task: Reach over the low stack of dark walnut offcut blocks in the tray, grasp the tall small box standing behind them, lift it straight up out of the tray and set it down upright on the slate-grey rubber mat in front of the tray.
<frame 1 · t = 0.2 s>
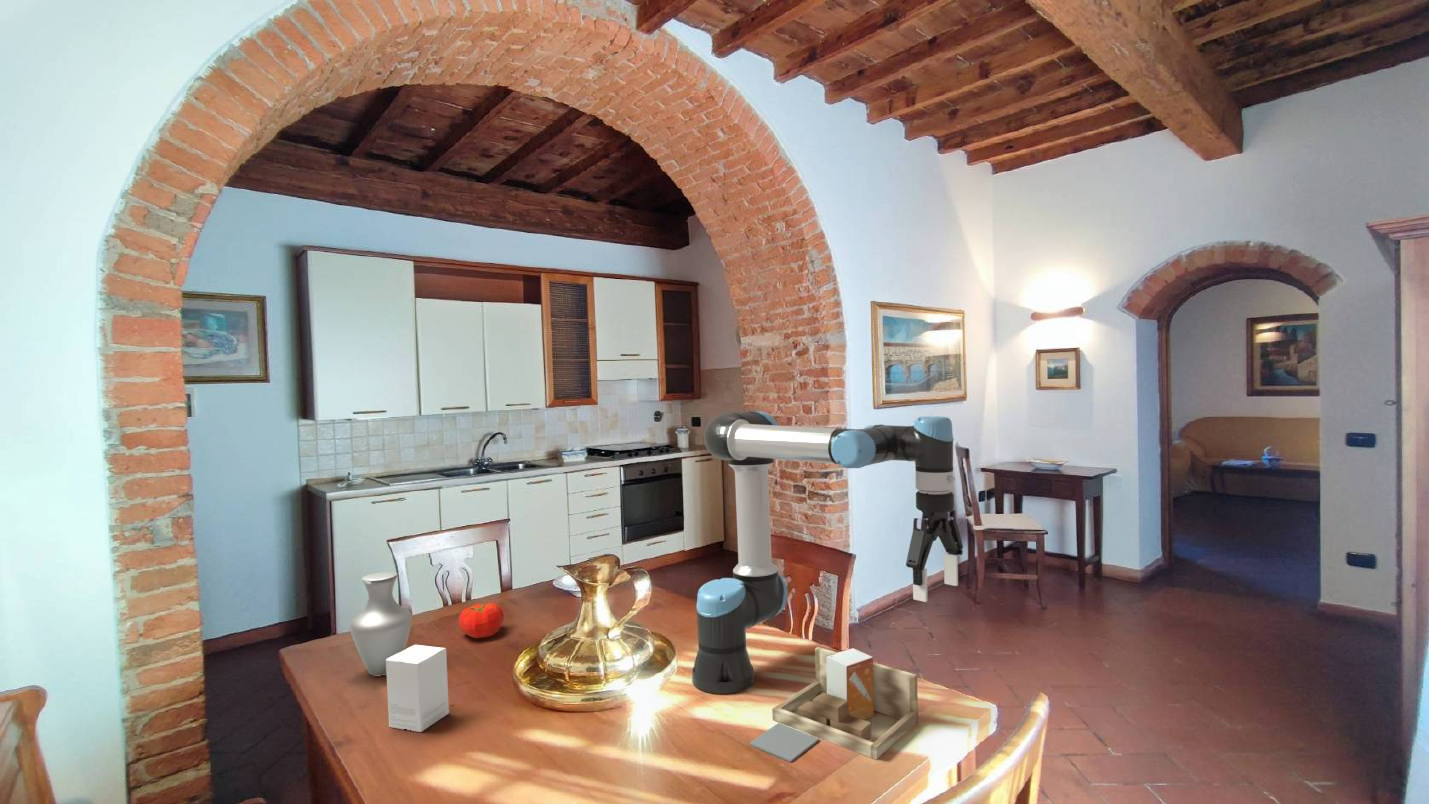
hand: (936, 592, 140), 27 cm above the table, fingers open, 13 cm apart
vase: (383, 672, 173), on the table
offcut b: (850, 738, 135), resting in tray, touching offcut c
tomato: (480, 636, 197), on the table
supplement box: (419, 721, 147), on the table
small box: (850, 717, 144), resting in tray
offcut c: (830, 714, 138), point 3 cm above the table, touching offcut b
offcut a: (817, 725, 141), resting in tray
tray: (844, 720, 142), on the table
mat: (784, 742, 134), on the table
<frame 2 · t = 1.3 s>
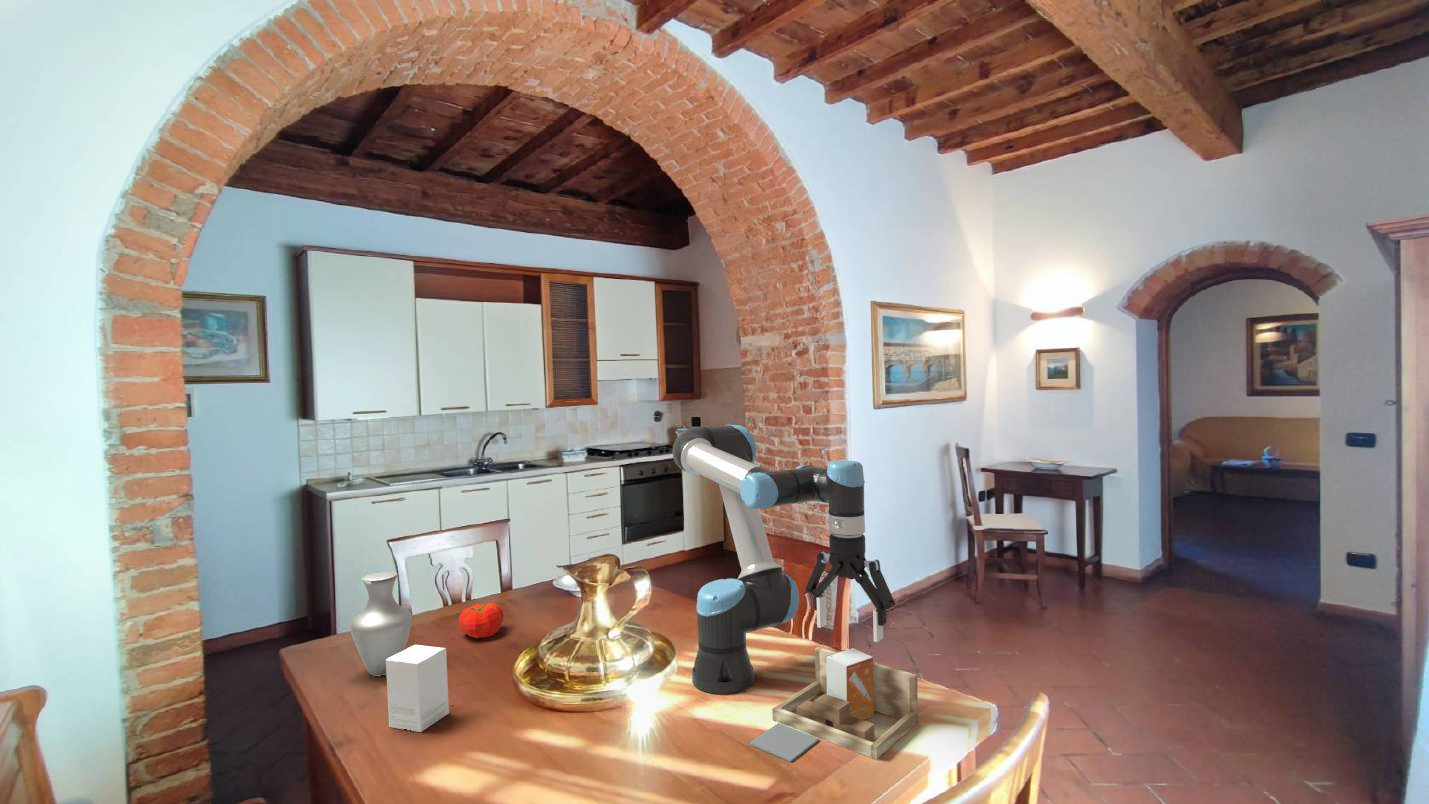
hand: (849, 632, 143), 18 cm above the table, fingers open, 13 cm apart
offcut b: (853, 739, 135), resting in tray
offcut c: (832, 715, 138), point 3 cm above the table
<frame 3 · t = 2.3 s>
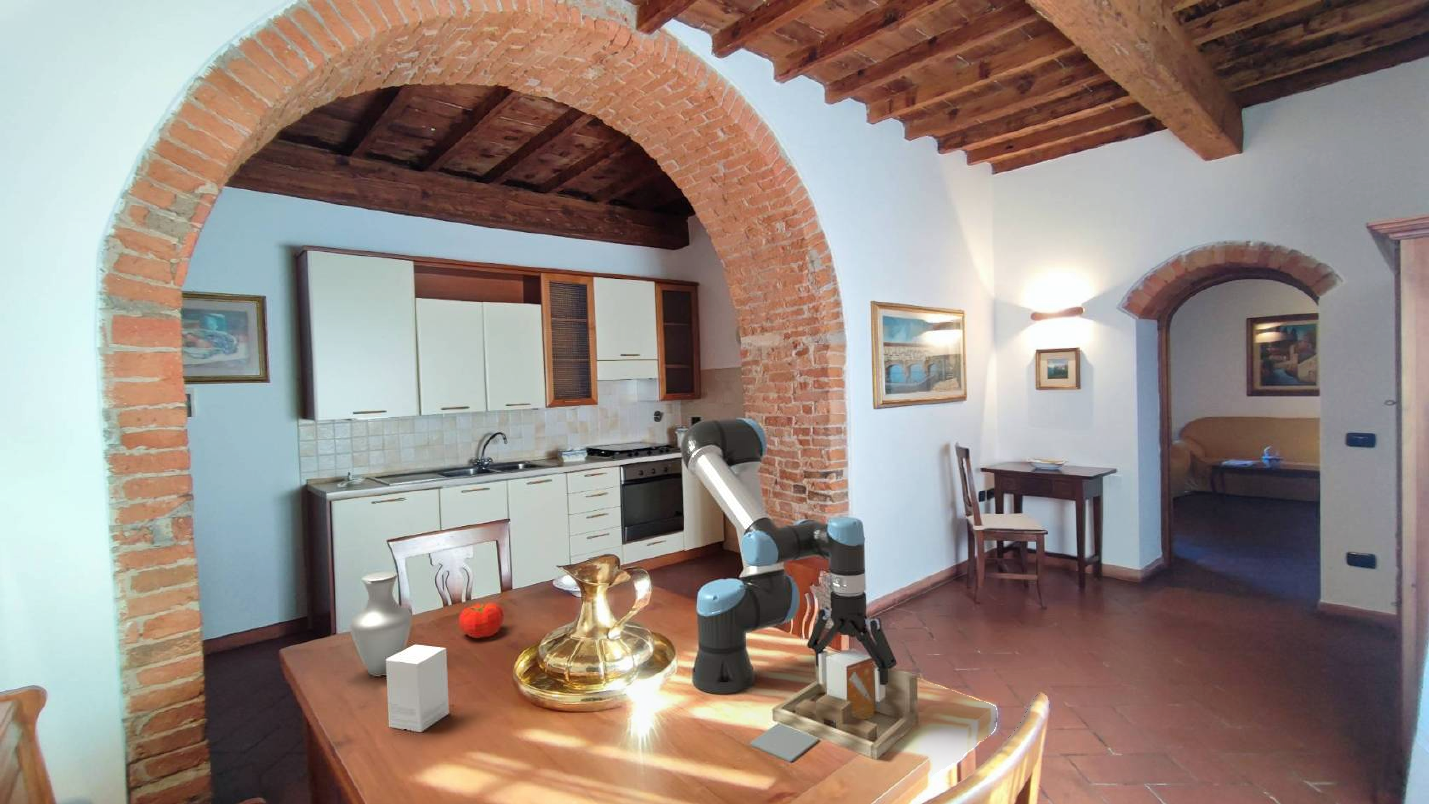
hand: (851, 690, 143), 6 cm above the table, fingers open, 13 cm apart
offcut b: (856, 740, 135), resting in tray, touching offcut c
offcut c: (834, 715, 138), point 3 cm above the table, touching offcut a, offcut b
offcut a: (814, 723, 141), resting in tray, touching offcut c
everything else where it was.
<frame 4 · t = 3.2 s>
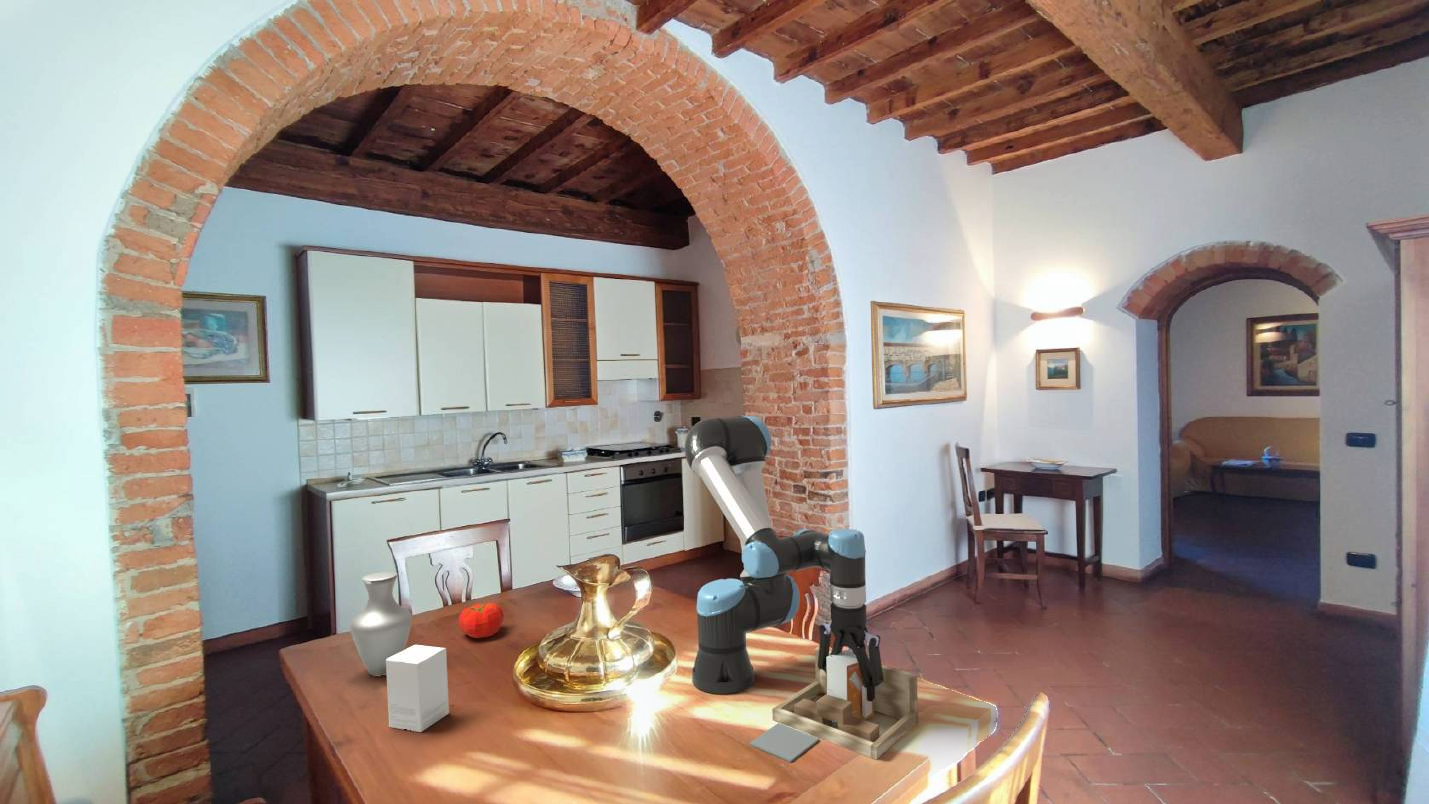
hand: (850, 708, 144), 2 cm above the table, fingers closed on small box, 7 cm apart
offcut b: (858, 741, 134), resting in tray
small box: (850, 717, 144), resting in tray, touching gripper
offcut c: (834, 716, 137), point 3 cm above the table
offcut a: (813, 722, 142), resting in tray
everything else where it was.
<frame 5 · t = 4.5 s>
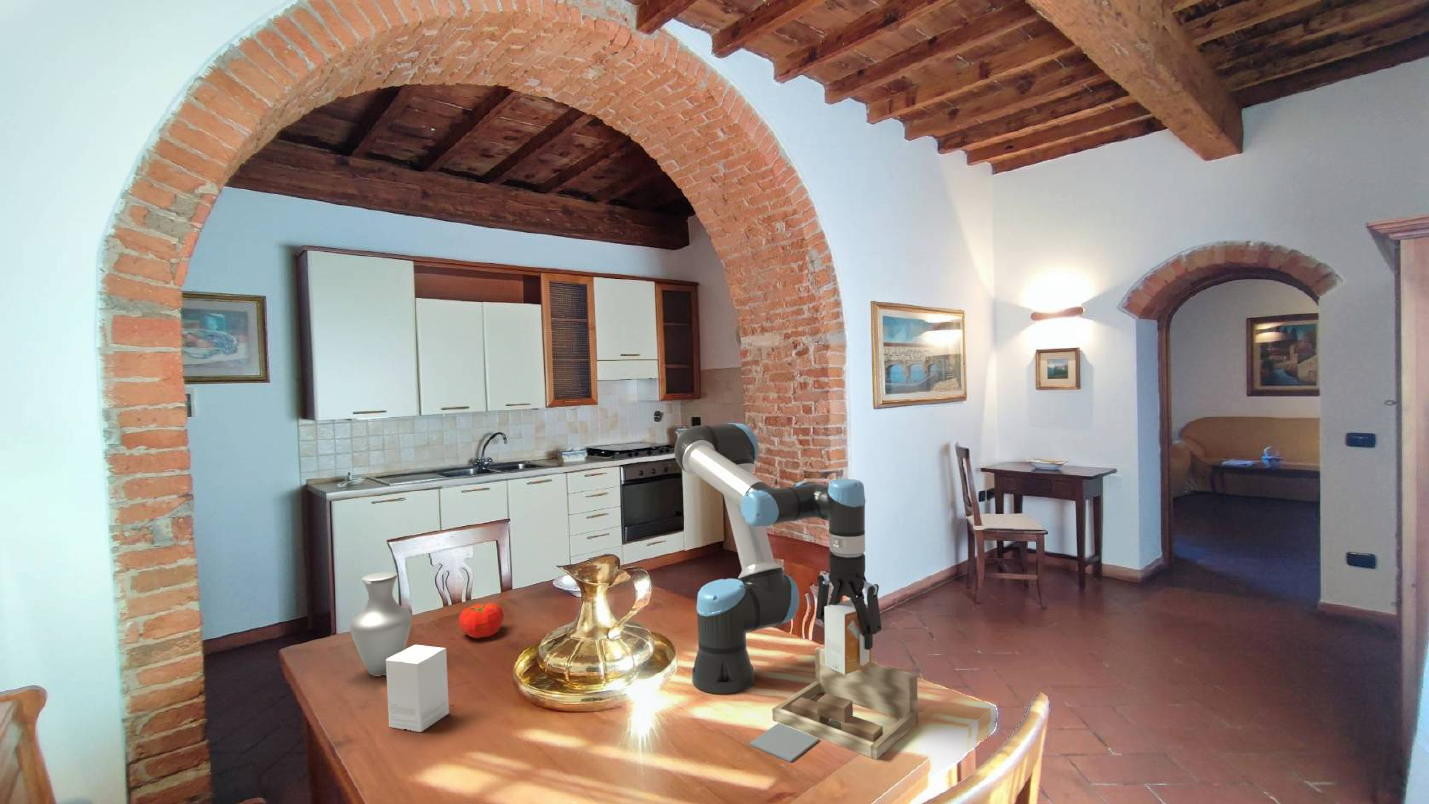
hand: (848, 658, 144), 12 cm above the table, fingers closed on small box, 7 cm apart
offcut b: (862, 741, 134), resting in tray, touching offcut c
small box: (848, 666, 144), point 11 cm above the table, touching gripper
offcut c: (835, 715, 138), point 3 cm above the table, touching offcut a, offcut b
offcut a: (810, 721, 143), resting in tray, touching offcut c
everything else where it was.
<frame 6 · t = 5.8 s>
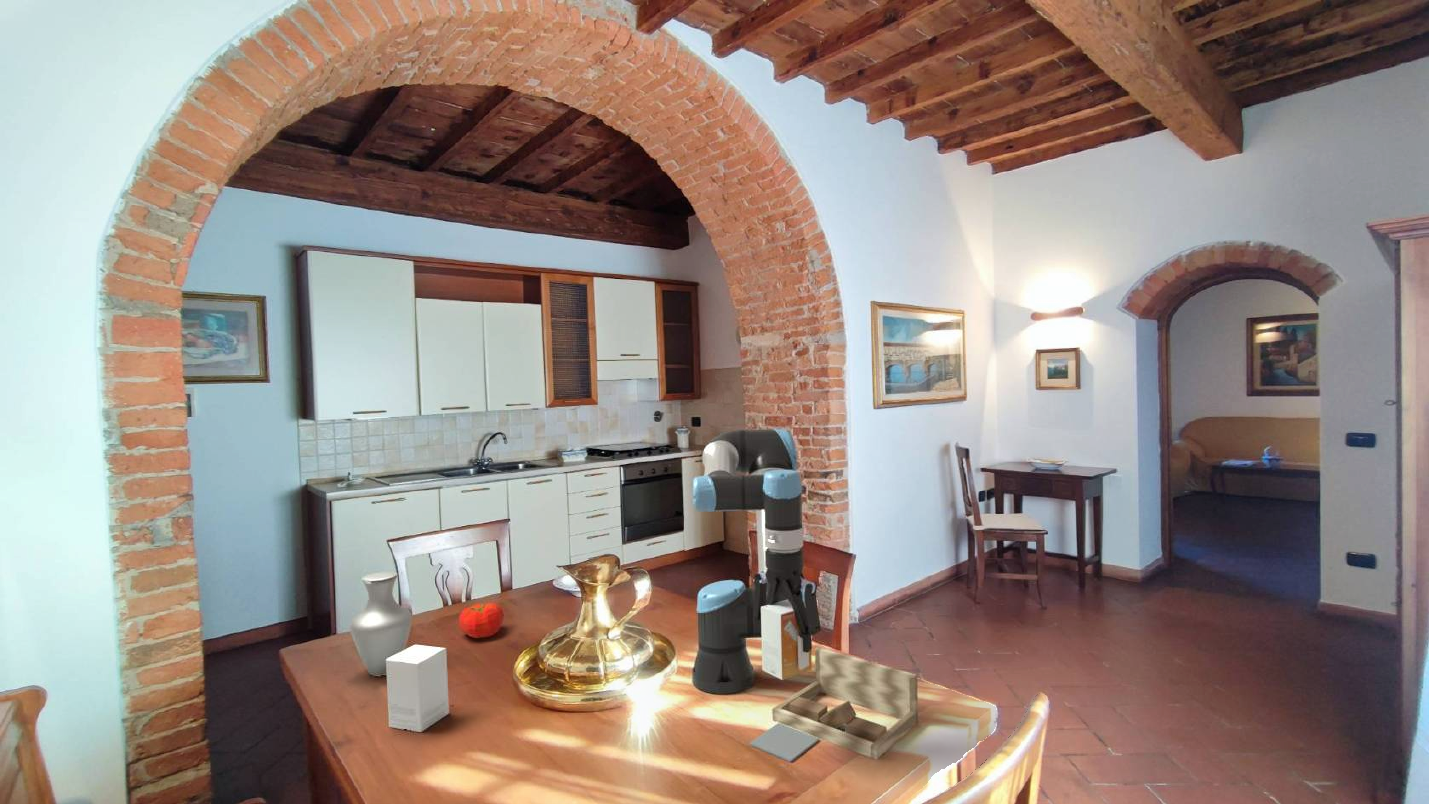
hand: (786, 662, 134), 16 cm above the table, fingers closed on small box, 7 cm apart
offcut b: (865, 742, 134), resting in tray
small box: (787, 671, 134), point 14 cm above the table, touching gripper
offcut c: (841, 723, 137), point 2 cm above the table, tilted 37°
offcut a: (808, 720, 143), resting in tray
everything else where it was.
when the fingers open (4 cm above the table, at t = 8.6 s): small box drops 1 cm, resting on mat.
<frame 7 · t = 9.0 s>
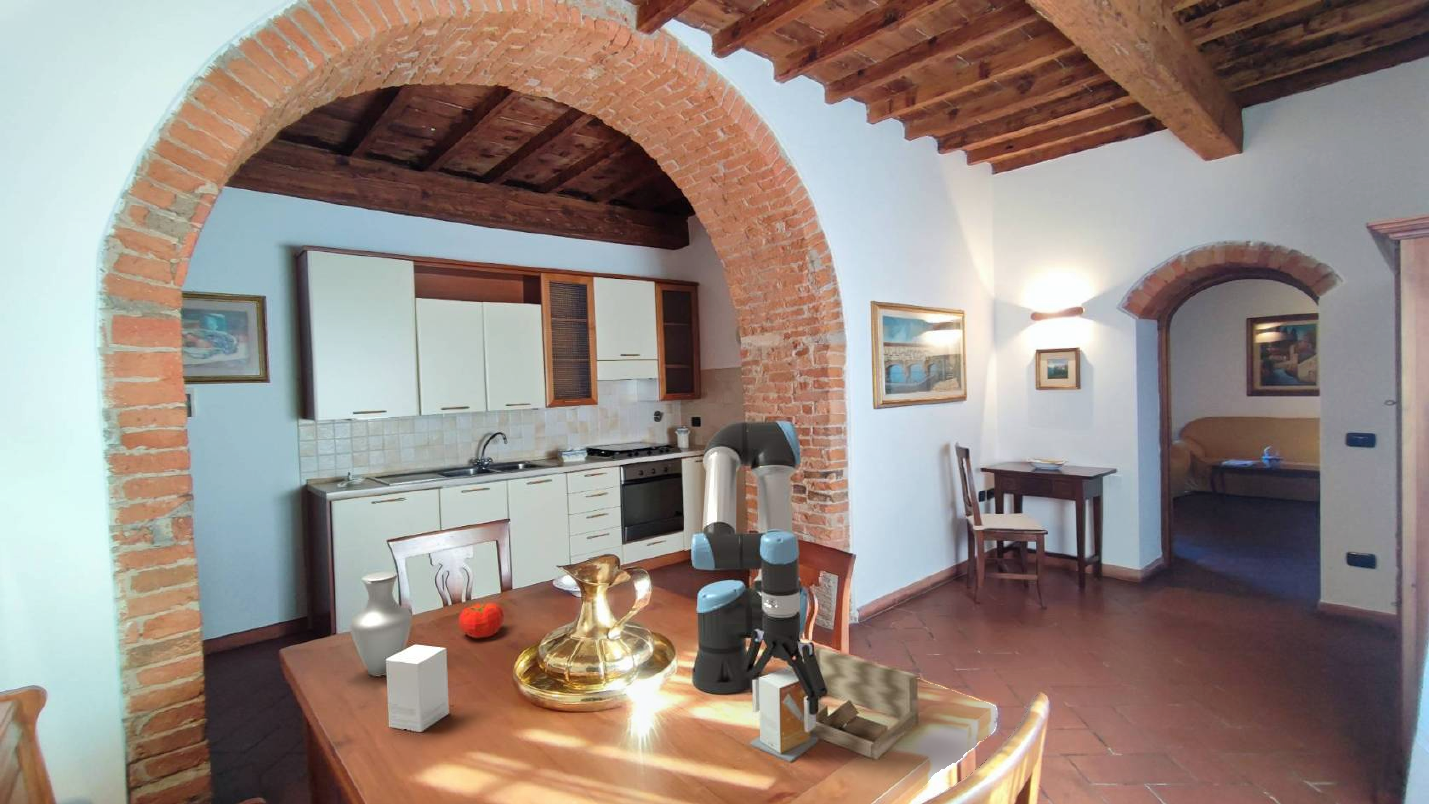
hand: (783, 719, 134), 5 cm above the table, fingers open, 12 cm apart
small box: (785, 742, 134), resting on mat
offcut c: (845, 723, 137), point 2 cm above the table, tilted 45°
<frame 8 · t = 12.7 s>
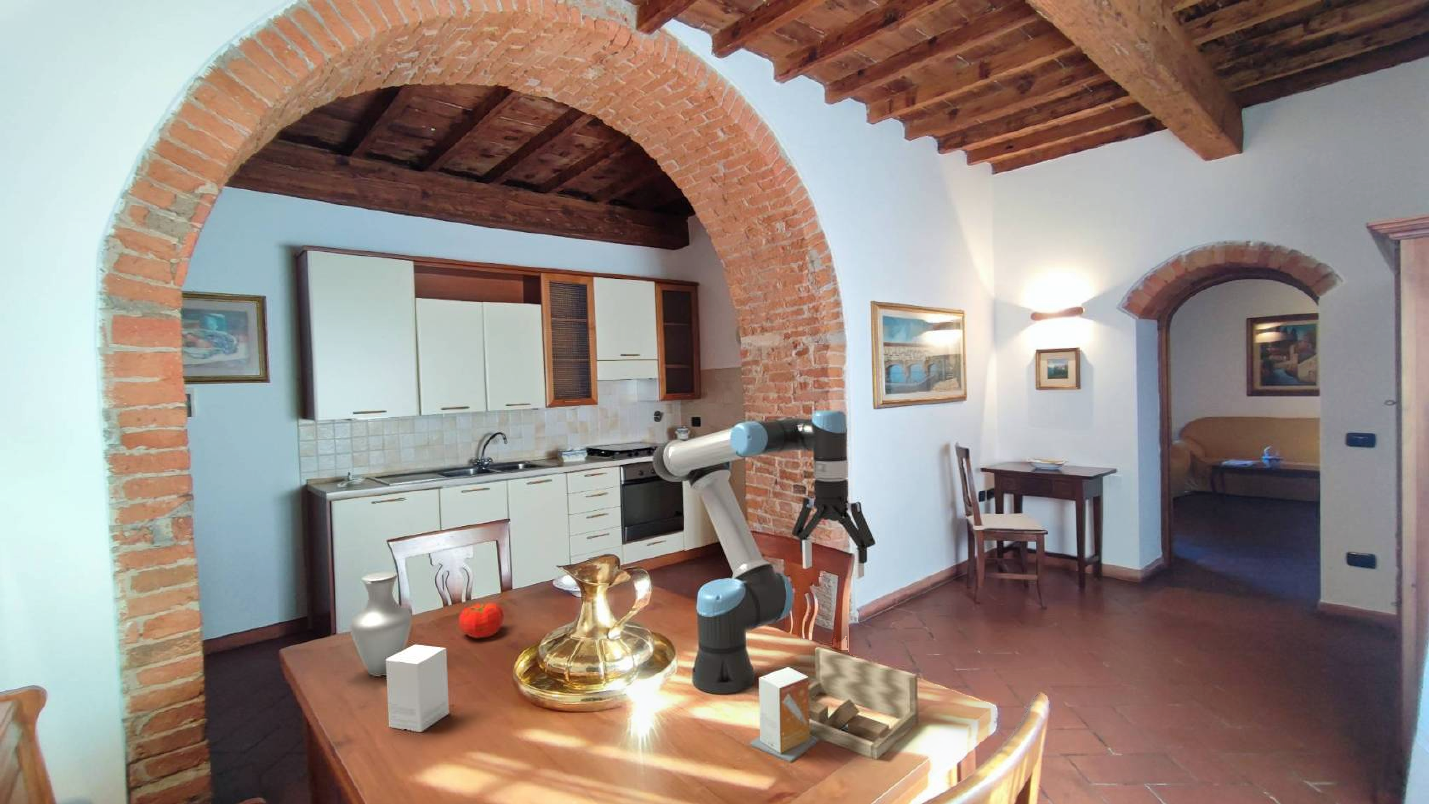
hand: (832, 572, 152), 29 cm above the table, fingers open, 13 cm apart
offcut c: (846, 723, 136), point 2 cm above the table, tilted 51°
at the end: small box inside the target area (0.2 cm from its centre), resting on mat; small box tilted 0°; the gripper is holding nothing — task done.
